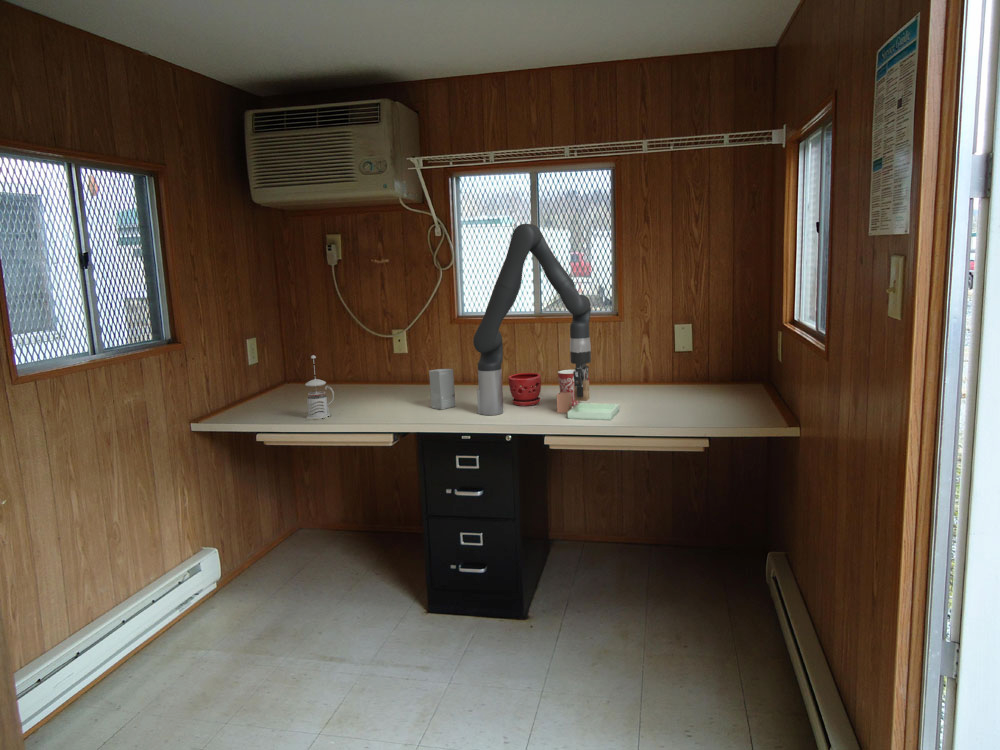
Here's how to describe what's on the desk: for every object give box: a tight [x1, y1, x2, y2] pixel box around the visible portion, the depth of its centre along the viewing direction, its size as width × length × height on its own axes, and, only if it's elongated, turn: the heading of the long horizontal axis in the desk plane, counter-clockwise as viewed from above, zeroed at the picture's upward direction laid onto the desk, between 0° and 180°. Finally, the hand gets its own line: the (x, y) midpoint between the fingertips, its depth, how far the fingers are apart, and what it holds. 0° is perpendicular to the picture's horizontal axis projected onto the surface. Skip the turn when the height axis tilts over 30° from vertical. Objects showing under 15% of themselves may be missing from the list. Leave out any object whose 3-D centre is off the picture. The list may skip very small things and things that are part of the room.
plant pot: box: [508, 372, 542, 407], centre depth 297 cm, size 13×13×12 cm
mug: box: [557, 369, 591, 407], centre depth 291 cm, size 13×9×14 cm
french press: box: [305, 354, 335, 418], centre depth 290 cm, size 10×12×25 cm
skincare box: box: [428, 368, 456, 410], centre depth 298 cm, size 8×7×16 cm
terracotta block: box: [556, 391, 573, 414], centre depth 280 cm, size 4×4×7 cm
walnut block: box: [574, 380, 591, 402], centre depth 269 cm, size 4×4×7 cm
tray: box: [567, 402, 620, 421], centre depth 272 cm, size 16×16×3 cm
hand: (582, 395), depth 269 cm, fingers closed on walnut block, 4 cm apart
